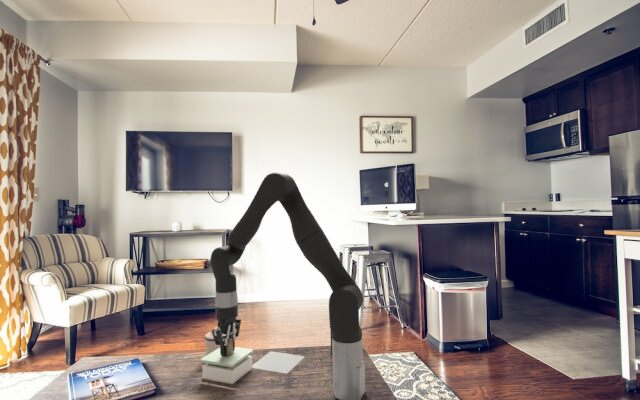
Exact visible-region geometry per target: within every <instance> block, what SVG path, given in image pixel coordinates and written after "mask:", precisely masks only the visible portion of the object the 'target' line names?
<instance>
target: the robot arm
mask: <svg viewBox="0 0 640 400" xmlns="http://www.w3.org/2000/svg"><path fill="white" fill-rule="evenodd" d="M277 202H279V203H280V205H282V207H283V209H284V211H285V212H286V214H287V215H288V218H289V221H290V226H291V229H292V235H293V237H294V240H295V242H296V244H297V246H298V248H299V250H300V252H301V253H302V254H303V256H304V258H305V259H306V260H307V261H308V262H309V264H310V265H312V266H313V267H314V269H316V270H317V271H318V272H319V273H321V275H322V276H323V277H324V278H325V280H326V282H327V284H328V285H329V288H330V289H331V291H332V292H331V294H330V297H329V299H328V315H329V316H328V317H329V329H330V330H331V332H332V352H333V356H332V383H333V384H332V387H333V388H332V389H333V390H332V391H333V396H334V397H335V398H336V400H337V399H338V400H362V398H363V397H364V395H365V394H366V369H365V367H366V366H365V365H366V364H365V363H366V361H365V360H364V359H363V358H364V357H363V331H362V327H360V316H359V314H360V312H359V311H360V309H361V308H362V305H363V303H364V294H363V292H362V290H361V289H360V287H359V286H358V284H357V283H356V282H355V280H354V279H353V278H352V276H351V275H350V274H349V272H348V271H347V269H346V268H345V267H344V265H343V264H342V261H341V260H340V258H339V256H338V255H337V252H336V251H335V249H334V248H333V246H332V244H331V242H330V241H329V238H328V237H327V235H326V233H325V232H324V230H323V229H322V227H321V226H320V225H319V223H318V221H317V220H316V218H315V216H314V215H313V213H312V212H311V210H310V209H309V207H308V206H307V204H306V201H305V200H304V198H303V196H302V194H301V191H300V189H299V186H298V185H297V183H296V181H295V179H294V178H293V177H292V175H289V174H288V173H283V172H272V173H268V174H267V175H266V176H265V177H264V178H263V180H262V182H261V183H260V185H259V187H258V189H257V191H256V193H255V195H254V196H253V199H252V200H251V203H250V204H249V206H248V207H247V209H246V211H245V212H244V213H243V215H242V217H241V218H240V219H239V221H238V222H237V223H236V225H235V226H234V227H233V229H232V230H231V232H230V233H229V235H228V237H227V239H228V243H227V244H226V245H224V246H219V247H216V248H215V249H214V250H212V252H211V254H210V265H211V269H212V272H213V276H214V279H215V295H214V296H215V298H214V301H215V302H214V305H215V306H214V307H215V309H214V310H215V319H216V320H217V322H218V323H217V329H216V330H214V329H212V330H211V331H212V334H213V337H214V341H215V344H216V345H220V354H221V356H227V339H228V338H232V339H233V351H234V350H235V347H236V344H235V341H236V339H237V338H238V337H239V334H240V331H241V330H240V329H241V322H242V320H241V319H240V318H237V317H238V316H239V305H238V301H239V300H238V292H237V291H238V290H237V276H236V274H235V273H234V272H231V269H230V266H234V265H235V264H236V263H238V261H239V260H240V259H241V258H242V256H243V254H244V251H245V250H246V248H247V245H248V244H249V243H250V242H251V241H252V239H253V238H254V237H255V236H256V234H257V232H258V230H259V229H260V227H261V224H262V221H263V219H264V216H265V215H266V214H267V212H268V211H269V209H271V207H272V206H274V205H275V204H276V203H277ZM331 332H330V333H331ZM222 334H225V335H226V336H225V335H222ZM223 338H224V342H223ZM218 340H219V341H218Z"/></svg>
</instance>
